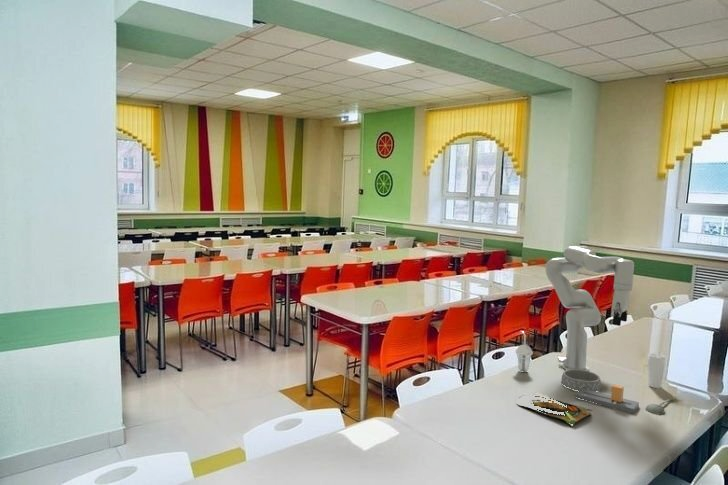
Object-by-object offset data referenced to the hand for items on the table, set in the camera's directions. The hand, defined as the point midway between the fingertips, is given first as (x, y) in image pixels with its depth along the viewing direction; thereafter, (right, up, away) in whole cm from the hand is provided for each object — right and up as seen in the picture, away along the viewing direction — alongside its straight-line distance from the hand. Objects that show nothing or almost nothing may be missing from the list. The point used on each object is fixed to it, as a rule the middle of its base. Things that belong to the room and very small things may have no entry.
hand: (619, 322), depth 229 cm
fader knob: (-10, -30, -17) cm, 36 cm away
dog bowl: (-15, -31, +6) cm, 35 cm away
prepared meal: (-39, -33, -22) cm, 56 cm away
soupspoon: (+9, -34, -17) cm, 39 cm away
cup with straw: (-37, -29, +23) cm, 52 cm away
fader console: (-13, -32, -14) cm, 37 cm away
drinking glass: (+19, -31, +5) cm, 36 cm away
